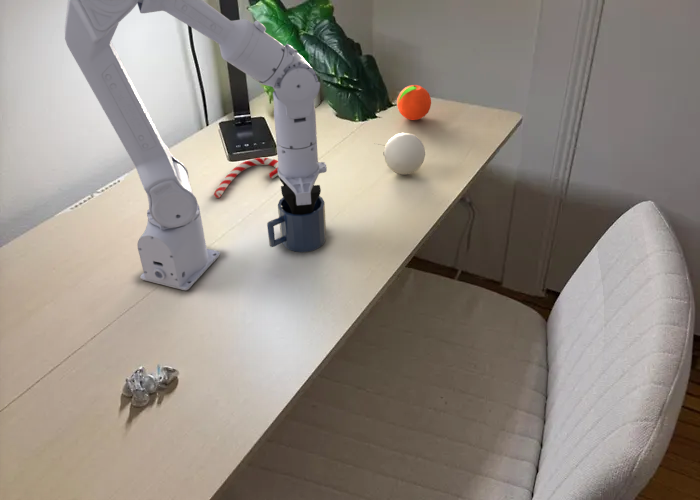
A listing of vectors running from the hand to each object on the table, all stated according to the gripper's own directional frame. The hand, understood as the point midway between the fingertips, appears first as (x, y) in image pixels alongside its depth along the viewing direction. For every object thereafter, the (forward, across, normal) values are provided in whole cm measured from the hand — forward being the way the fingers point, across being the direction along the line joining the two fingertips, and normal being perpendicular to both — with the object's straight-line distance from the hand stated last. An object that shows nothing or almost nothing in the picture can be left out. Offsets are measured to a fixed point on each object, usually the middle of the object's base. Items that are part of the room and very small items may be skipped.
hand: (302, 220), depth 103 cm
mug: (+3, -1, +1) cm, 4 cm away
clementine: (+4, +39, -26) cm, 47 cm away
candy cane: (+4, +20, +8) cm, 22 cm away
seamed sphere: (+4, +19, -19) cm, 27 cm away
